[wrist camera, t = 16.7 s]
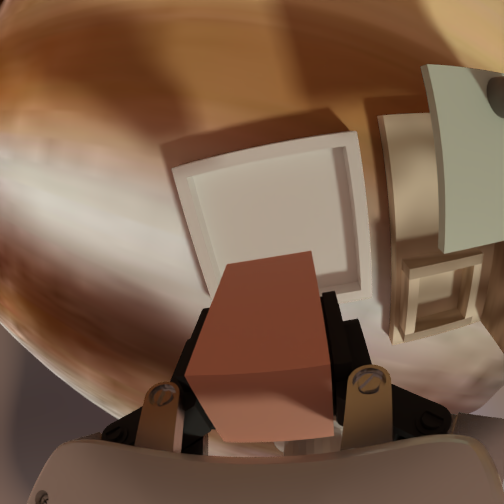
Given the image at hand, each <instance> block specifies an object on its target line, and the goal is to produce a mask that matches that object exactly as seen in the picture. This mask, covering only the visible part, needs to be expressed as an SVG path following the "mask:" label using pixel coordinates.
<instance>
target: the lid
mask: <svg viewBox="0 0 504 504" xmlns="http://www.w3.org/2000/svg"><path fill="white" fill-rule="evenodd" d="M420 68H421V72H422V76H423V80H424V85H425V89H426V94H427V99H428V104H429V110H430V116H431V122H432V129H433V136H434V145H435V154H436V165H437V179H438V202H439V235H438V248H439V249H440V250H441V251H442V252H443V253H444V254H446V253H451V252H455V251H460V250H465V249H469V248H474V247H478V246H483V245H487V244H492V243H496V242H500V241H504V74H503V73H498V72H492V71H486V70H480V69H473V68H466V67H457V66H447V65H434V64H426V65H423V66H420Z"/></svg>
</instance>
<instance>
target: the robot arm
mask: <svg viewBox="0 0 504 504" xmlns="http://www.w3.org/2000/svg"><path fill="white" fill-rule="evenodd" d="M320 300H321V306H322V312H323V318H324V324H325V331H326V337H327V344H328V351H329V358H330V366H331V380H332V398H333V415H336V416H333V422H334V436H330V437H322V438H314V439H304V440H292V441H276V442H274V444H275V446H276V447H277V448H278V449H279V450H280V451H282V452H284V456H283V457H220V456H208V432H210V431H211V429H216V428H215V427H214V425H213V424H212V422H211V420H210V419H209V417H208V416H207V414H206V412H205V411H204V409H203V407H202V406H201V404H200V402H199V401H198V399H197V397H196V395H195V394H194V392H193V390H192V388H191V387H190V385H189V383H188V381H187V380H186V378H185V376H184V375H185V372H186V369H187V367H188V364H189V361H190V359H191V356H192V353H193V351H194V348H195V345H196V343H197V340H198V338H199V335H200V332H201V330H202V327H203V324H204V322H205V319H206V317H207V314H208V311H209V309H210V308H205V309H203V310H202V312H201V314H200V316H199V319H198V321H197V324H196V326H195V329H194V331H193V334H192V336H191V338H190V339H189V340H187V342H186V344H185V347H184V349H183V351H182V354H181V356H180V359H179V361H178V364H177V366H176V368H175V371H174V373H173V376H172V378H171V381H170V382H165V381H164V382H160V383H157V384H155V385H154V386H152V387H151V388H150V389H149V390H148V391H147V393H146V395H145V398H144V403H143V406H142V407H140V408H139V409H137V410H135V411H133V412H132V413H130V414H128V415H126V416H124V417H123V418H121V419H119V420H117V421H115V422H114V423H111V424H110V425H109V426H107V427H106V428H105V430H104V431H103V433H102V434H101V433H100V432H97V433H94V434H91V435H88V436H84V437H81V438H78V439H74V440H70V441H67V442H65V443H63V444H61V445H60V446H59V447H57V449H55V451H54V452H53V453H52V454H51V456H50V457H49V459H48V461H47V462H46V464H45V466H44V467H43V469H42V471H41V473H40V475H39V477H38V479H37V481H36V483H35V485H34V487H33V490H32V492H31V494H30V497H29V499H28V502H27V504H504V492H503V487H502V482H503V479H504V419H502V418H495V417H487V416H479V415H473V414H466V413H460V412H459V413H458V414H457V415H455V414H450V412H449V411H448V410H447V408H445V407H444V406H442V405H440V404H438V403H435V402H433V401H430V400H428V399H425V398H423V397H421V396H418V395H416V394H414V393H411V392H409V391H407V390H404V389H402V388H400V387H398V386H395V385H393V384H391V377H390V374H389V373H388V371H387V370H386V369H384V368H383V367H381V366H378V365H372V363H371V360H370V356H369V353H368V349H367V346H366V342H365V339H364V336H363V332H362V329H361V326H360V323H359V320H358V319H353V320H348V321H343V320H342V316H341V312H340V308H339V304H338V300H337V296H336V293H335V291H330V292H324V293H322V296H321V297H320Z"/></svg>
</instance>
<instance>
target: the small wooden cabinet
mask: <svg viewBox="0 0 504 504" xmlns="http://www.w3.org/2000/svg"><path fill="white" fill-rule="evenodd" d="M377 119H378V124H379V130H380V136H381V142H382V149H383V156H384V163H385V172H386V181H387V190H388V202H389V216H390V234H391V307H390V326H389V338H390V341H391V343H392V345H396V344H400V343H405V342H409V341H413V340H417V339H421V338H425V337H429V336H433V335H436V334H440V333H443V332H447V331H450V330H454V329H457V328H460V327H463V326H466V325H470V324H472V323H475V322H478V321H481V322H482V324H483V325H484V326H485V328H486V329H487V330H488V332H489V333H490V334H491V336H492V337H493V339H494V340H495V341H496V343H497V344H498V346H499V347H500V349H501V350H502V352H503V353H504V241H500V242H496V243H492V244H487V245H483V246H478V247H474V248H469V249H465V250H460V251H455V252H451V253H446V254H444V253H443V252H442V251H441V250H440V249H439V248H438V235H439V202H438V179H437V165H436V154H435V145H434V136H433V129H432V122H431V116H430V113H412V114H393V115H380V116H377Z"/></svg>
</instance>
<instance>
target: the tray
mask: <svg viewBox="0 0 504 504" xmlns="http://www.w3.org/2000/svg"><path fill="white" fill-rule="evenodd" d="M171 169H172V173H173V176H174V180H175V184H176V187H177V191H178V194H179V198H180V201H181V205H182V208H183V212H184V215H185V218H186V222H187V225H188V228H189V232H190V235H191V238H192V241H193V245H194V248H195V251H196V254H197V257H198V260H199V264H200V267H201V270H202V273H203V276H204V279H205V282H206V285H207V288H208V291H209V294H210V297H211V300H212V301H213V298H214V296H215V293H216V291H217V288H218V285H219V283H220V280H221V278H222V275H223V273H224V270H225V268H226V265H227V264H231V263H237V262H243V261H250V260H256V259H262V258H268V257H275V256H281V255H287V254H293V253H299V252H306V251H311V252H312V257H313V262H314V267H315V273H316V278H317V283H318V289H319V295H320V297H321V296H322V293H324V292H330V291H335V293H336V296H337V300H338V304H341V303H346V302H352V301H358V300H363V299H369V298H372V268H371V247H370V233H369V220H368V209H367V200H366V191H365V183H364V175H363V168H362V161H361V154H360V148H359V142H358V136H357V131H345V132H337V133H330V134H323V135H316V136H310V137H303V138H298V139H292V140H286V141H281V142H275V143H270V144H265V145H260V146H255V147H251V148H246V149H242V150H237V151H233V152H229V153H224V154H220V155H216V156H212V157H208V158H204V159H200V160H197V161H193V162H189V163H186V164H182V165H179V166H176V167H174V168H171Z"/></svg>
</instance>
